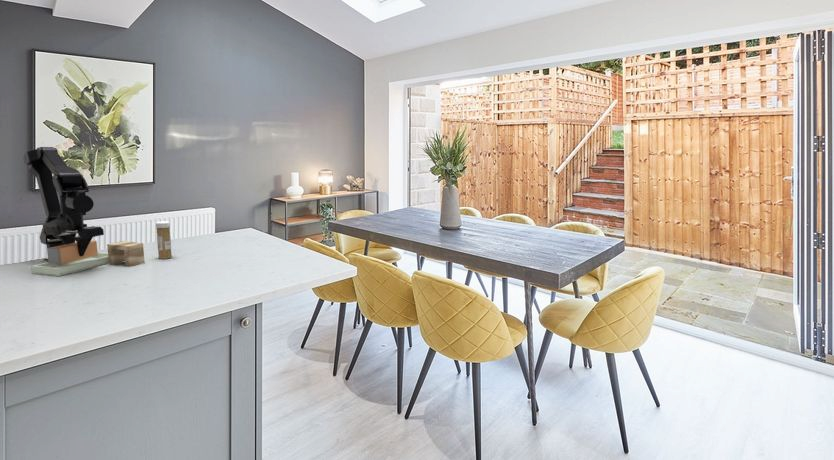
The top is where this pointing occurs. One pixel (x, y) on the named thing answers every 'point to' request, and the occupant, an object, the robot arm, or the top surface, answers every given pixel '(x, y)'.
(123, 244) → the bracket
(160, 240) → the sprinkles bottle
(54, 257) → the orange rectangular block
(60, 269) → the tray
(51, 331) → the top surface
